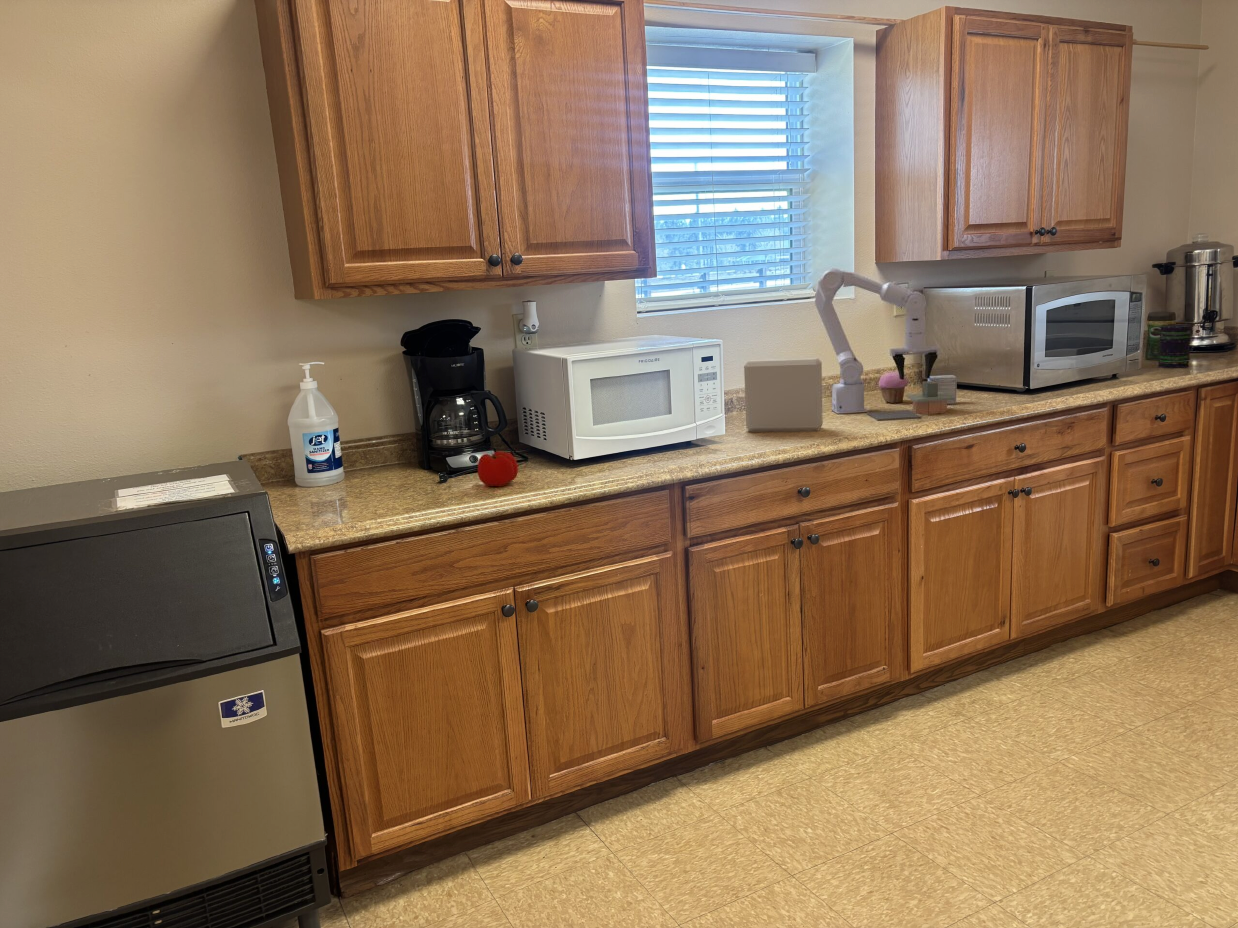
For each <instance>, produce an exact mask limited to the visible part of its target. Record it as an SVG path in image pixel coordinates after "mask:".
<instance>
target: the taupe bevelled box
mask: <svg viewBox="0 0 1238 928" xmlns="http://www.w3.org/2000/svg"><path fill="white" fill-rule="evenodd" d="M822 368H823V367H822V361H821V360H820V359H819V358H818V357H807V358H806V357H803V358H777V359H776V358H772V359H750V360H747V362H746V363H745V364H744V366H743V369H744V370H743V375H744V377H743V378H744V400H745V406H744V407H745V425H746V426H745V427H746V429H747V430H748V432H751V433H752V432H755V433H756V432H757V433H761V432H763V433H764V432H768V433H769V432H819V430H820V429H821V428H822V427H823V424H824V423H823V422H824V421H823V372H822V371H823V370H822Z"/></svg>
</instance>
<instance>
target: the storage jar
mask: <svg viewBox="0 0 1238 928" xmlns="http://www.w3.org/2000/svg"><path fill="white" fill-rule="evenodd" d="M1160 328H1161V330H1160V332H1161V333H1160V336H1161V337H1160V352H1159V357H1158V360H1157V361H1158V362H1157V363H1158V365H1157V368H1160V369H1187V368H1189V363H1190V360H1191V359H1190V358H1191V356H1190V355H1191V352H1190V344H1191V343H1190V342H1191V340H1192V338H1191V337H1192V325H1191V324H1175V325H1162V326H1160Z"/></svg>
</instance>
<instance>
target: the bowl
mask: <svg viewBox="0 0 1238 928" xmlns="http://www.w3.org/2000/svg"><path fill="white" fill-rule="evenodd" d="M947 411H948V404H947V400H945V401H928V402H916V401H913V400H912V412H913V413H915V414H917V413H921V414H920V415H936V414H935V413H941V414H944V413H947Z"/></svg>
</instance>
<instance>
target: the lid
mask: <svg viewBox="0 0 1238 928" xmlns="http://www.w3.org/2000/svg"><path fill="white" fill-rule="evenodd" d="M921 382H922V385H921V387H922V388H921V393H906V394H905V398H907V399H910V400H911V401H912V402H913V401H916V402H928V401H945V400H955V397H953V396H951V395H948V394H946V393H943V392H938V383H936V382H933V381H928V380H927V381H921Z"/></svg>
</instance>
